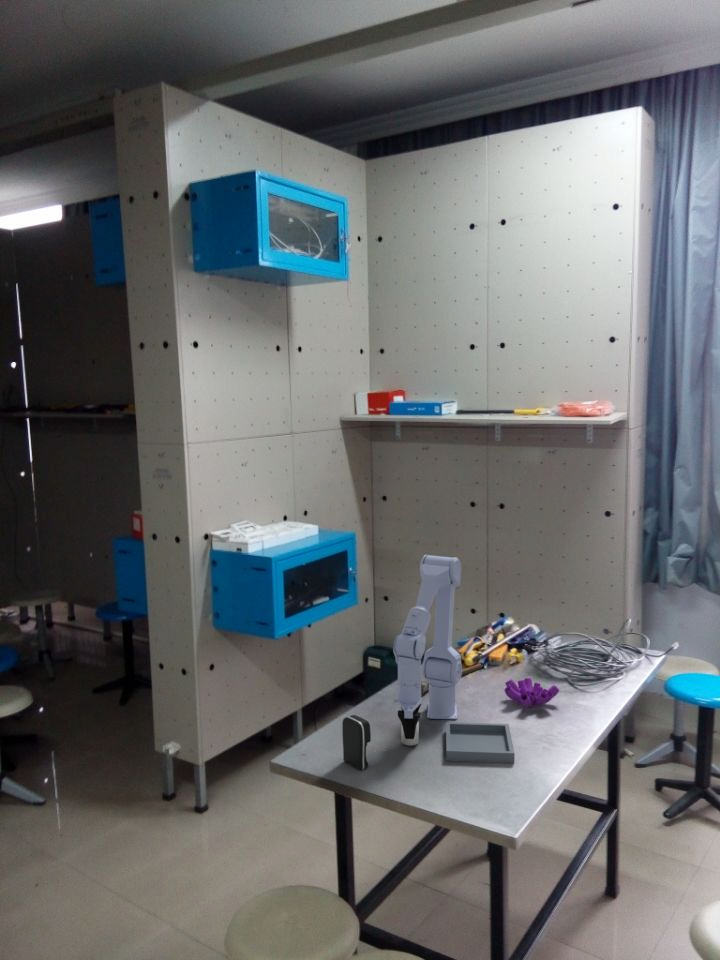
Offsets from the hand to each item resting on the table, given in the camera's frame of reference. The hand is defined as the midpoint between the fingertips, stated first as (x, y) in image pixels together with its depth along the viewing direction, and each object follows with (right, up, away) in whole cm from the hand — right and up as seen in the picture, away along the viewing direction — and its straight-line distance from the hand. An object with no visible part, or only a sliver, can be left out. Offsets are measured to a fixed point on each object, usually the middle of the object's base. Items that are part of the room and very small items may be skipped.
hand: (410, 733), depth 190 cm
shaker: (0, -2, 0) cm, 2 cm away
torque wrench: (+14, +2, +41) cm, 44 cm away
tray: (+17, -3, -2) cm, 17 cm away
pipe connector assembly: (+35, 0, +24) cm, 42 cm away
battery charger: (-13, -4, -9) cm, 17 cm away
